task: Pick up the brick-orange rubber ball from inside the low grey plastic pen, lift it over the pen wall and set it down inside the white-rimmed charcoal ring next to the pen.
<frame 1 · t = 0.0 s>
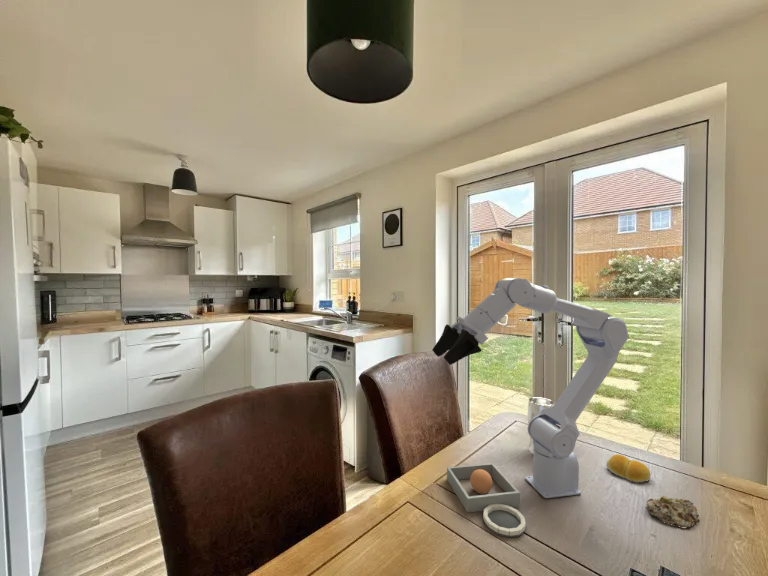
hand: (440, 357, 76), 32 cm above the table, tool tilted 50°, fingers open, 7 cm apart
low pen: (481, 491, 80), on the table
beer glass: (540, 453, 98), on the table
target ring: (503, 522, 70), on the table
rubber ball: (481, 481, 80), point 2 cm above the table
bread roll: (627, 474, 88), on the table
mineral rock: (673, 517, 73), on the table
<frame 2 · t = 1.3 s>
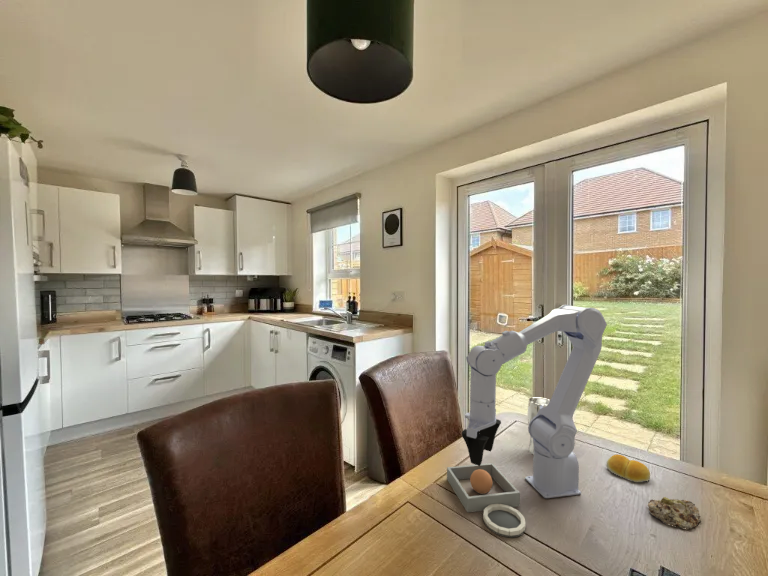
hand: (481, 456, 80), 8 cm above the table, tool pointing down, fingers open, 7 cm apart
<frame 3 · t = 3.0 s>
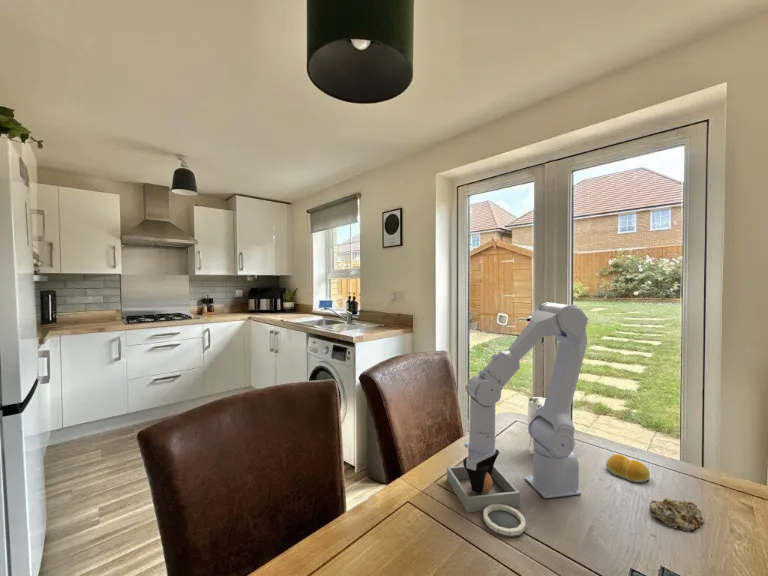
hand: (481, 485, 80), 1 cm above the table, tool pointing down, fingers closed on rubber ball, 5 cm apart
rubber ball: (481, 481, 80), point 2 cm above the table, touching gripper
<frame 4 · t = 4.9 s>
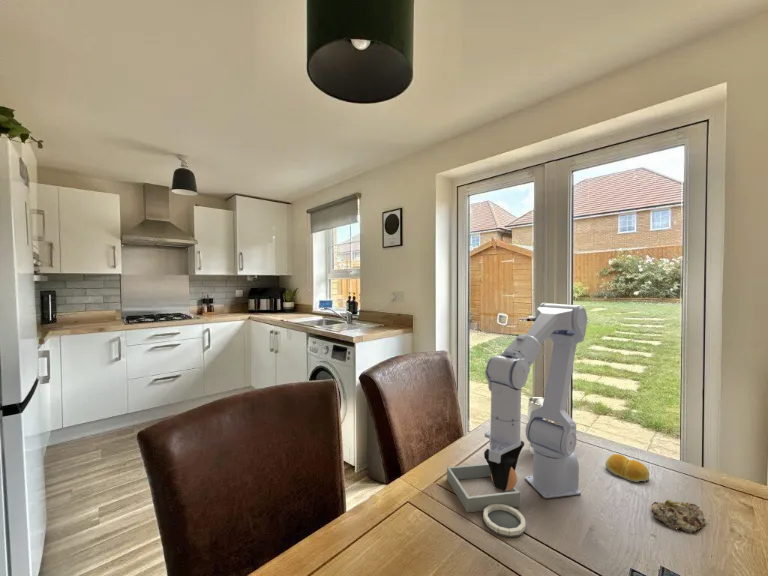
hand: (504, 481, 70), 8 cm above the table, tool pointing down, fingers closed on rubber ball, 5 cm apart
rubber ball: (503, 476, 70), point 9 cm above the table, touching gripper
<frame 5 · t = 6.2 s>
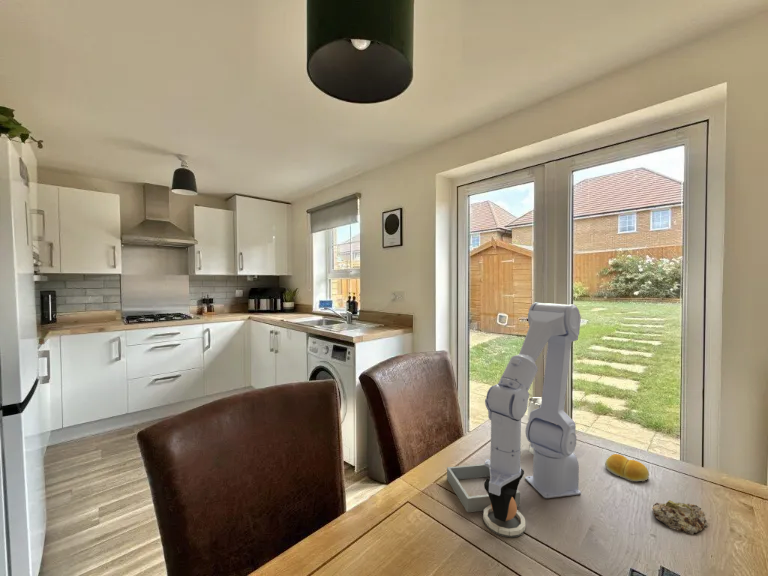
hand: (504, 511, 70), 2 cm above the table, tool pointing down, fingers closed on rubber ball, 5 cm apart
rubber ball: (503, 505, 70), point 3 cm above the table, touching gripper
when the fingers open (2 cm above the table, at t = 7.0 s): rubber ball stays where it is, resting on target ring.
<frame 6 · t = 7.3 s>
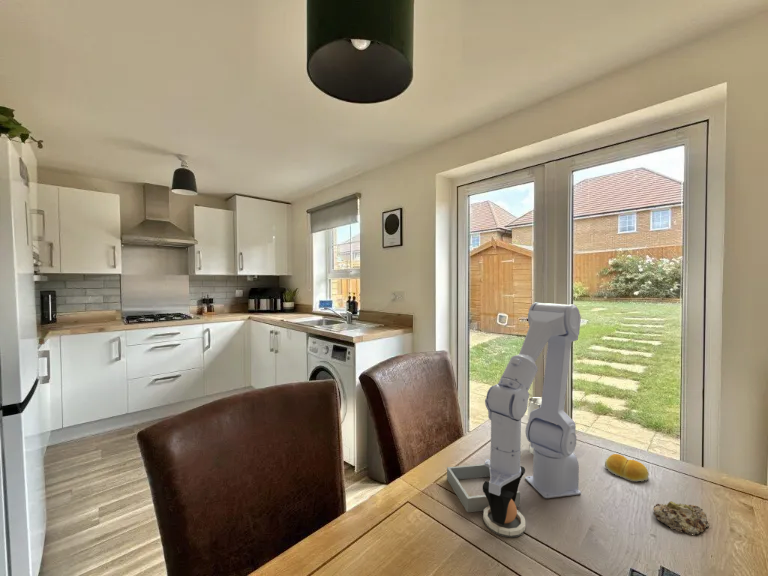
hand: (504, 511, 70), 2 cm above the table, tool pointing down, fingers open, 7 cm apart
rubber ball: (503, 508, 70), point 3 cm above the table, touching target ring
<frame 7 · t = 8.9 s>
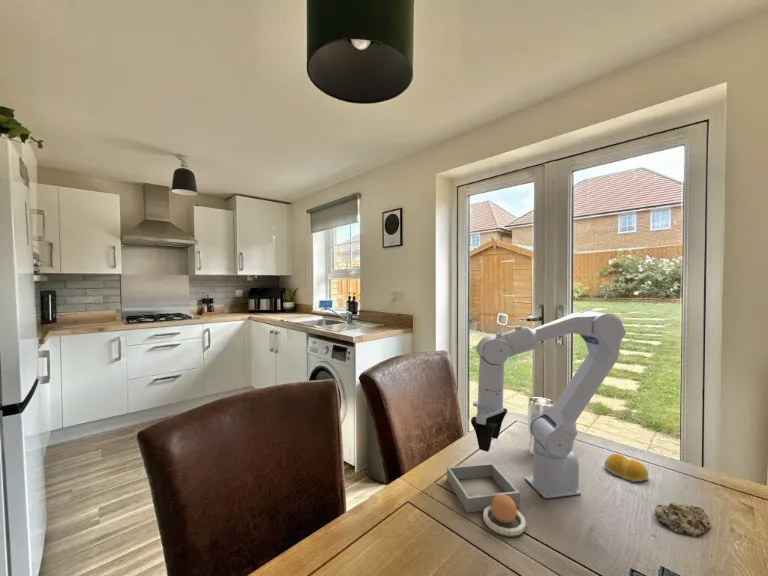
hand: (488, 443, 82), 10 cm above the table, tool pointing down, fingers open, 7 cm apart
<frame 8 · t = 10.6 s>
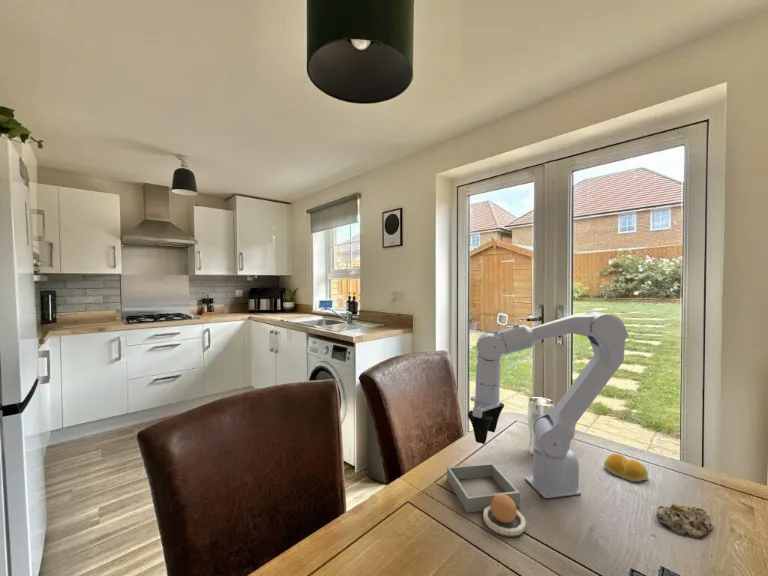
hand: (485, 436, 85), 10 cm above the table, tool pointing down, fingers open, 7 cm apart
at the end: rubber ball 0.1 cm from the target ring (horizontally); rubber ball touching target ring; the gripper is holding nothing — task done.
